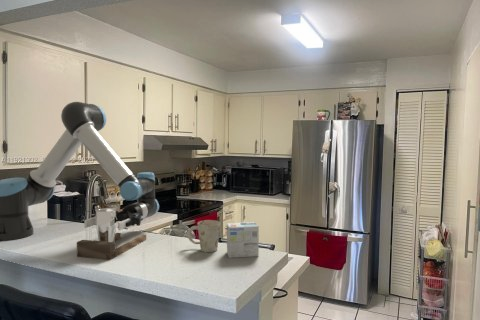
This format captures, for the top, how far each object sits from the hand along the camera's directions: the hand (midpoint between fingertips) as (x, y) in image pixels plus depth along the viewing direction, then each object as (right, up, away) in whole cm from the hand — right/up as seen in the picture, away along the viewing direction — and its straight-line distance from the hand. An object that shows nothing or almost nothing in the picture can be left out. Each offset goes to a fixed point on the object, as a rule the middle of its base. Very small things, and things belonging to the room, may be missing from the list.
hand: (102, 225), depth 124 cm
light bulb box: (+49, -11, +1) cm, 50 cm away
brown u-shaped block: (+2, -10, +7) cm, 12 cm away
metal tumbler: (+1, -10, +3) cm, 11 cm away
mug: (+35, -10, +6) cm, 37 cm away
